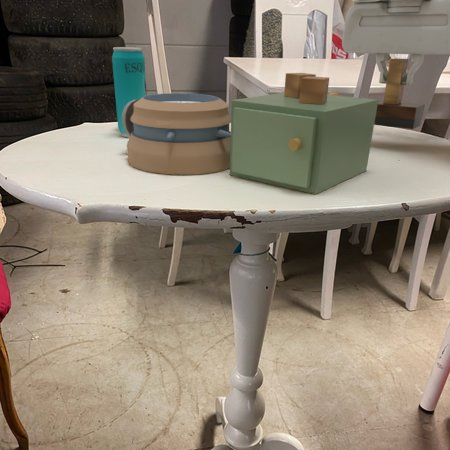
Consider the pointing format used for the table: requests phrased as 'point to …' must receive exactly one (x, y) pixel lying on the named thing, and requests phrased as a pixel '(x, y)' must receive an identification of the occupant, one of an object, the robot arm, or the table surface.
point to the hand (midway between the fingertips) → (395, 84)
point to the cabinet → (301, 140)
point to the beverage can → (128, 79)
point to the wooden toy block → (294, 84)
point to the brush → (397, 101)
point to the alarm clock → (178, 133)
